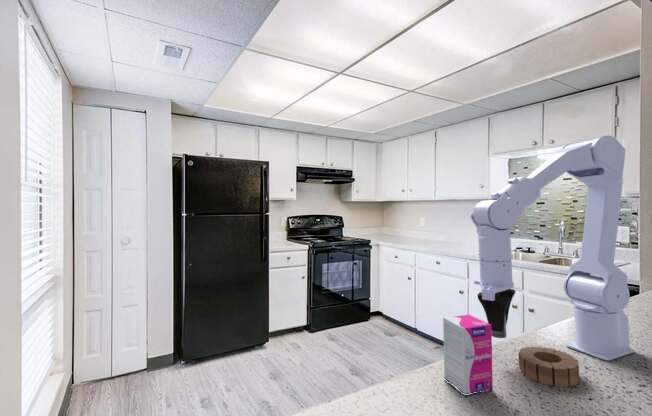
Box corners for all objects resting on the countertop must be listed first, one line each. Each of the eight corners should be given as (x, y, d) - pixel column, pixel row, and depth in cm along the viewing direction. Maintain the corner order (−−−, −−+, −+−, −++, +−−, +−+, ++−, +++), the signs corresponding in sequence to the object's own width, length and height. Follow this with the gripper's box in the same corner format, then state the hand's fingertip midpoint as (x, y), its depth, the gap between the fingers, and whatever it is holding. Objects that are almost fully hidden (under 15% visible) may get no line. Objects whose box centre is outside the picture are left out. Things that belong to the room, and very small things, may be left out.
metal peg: (497, 331, 67) (496, 302, 67) (509, 336, 64) (508, 306, 65) (487, 334, 66) (486, 304, 66) (499, 339, 63) (497, 308, 64)
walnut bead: (541, 358, 66) (540, 343, 66) (591, 379, 58) (590, 362, 58) (508, 367, 63) (508, 352, 63) (556, 391, 54) (555, 373, 54)
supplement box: (465, 398, 54) (462, 328, 54) (443, 380, 59) (441, 317, 59) (495, 391, 55) (492, 323, 55) (470, 374, 61) (468, 313, 61)
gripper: (482, 254, 74) (485, 314, 73) (463, 264, 62) (466, 335, 62) (518, 255, 69) (521, 320, 69) (505, 266, 58) (508, 343, 58)
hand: (498, 327), depth 65 cm, fingers closed on metal peg, 3 cm apart
